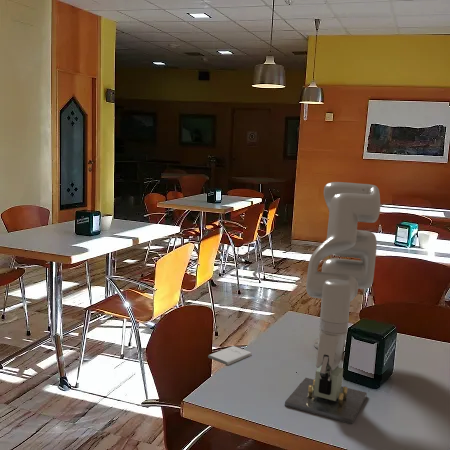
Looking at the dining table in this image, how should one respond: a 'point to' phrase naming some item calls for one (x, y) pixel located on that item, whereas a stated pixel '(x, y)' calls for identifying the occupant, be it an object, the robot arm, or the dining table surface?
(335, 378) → the beige block
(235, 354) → the external hard drive
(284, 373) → the dining table surface
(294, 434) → the dining table surface
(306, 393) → the plate
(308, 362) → the dining table surface
